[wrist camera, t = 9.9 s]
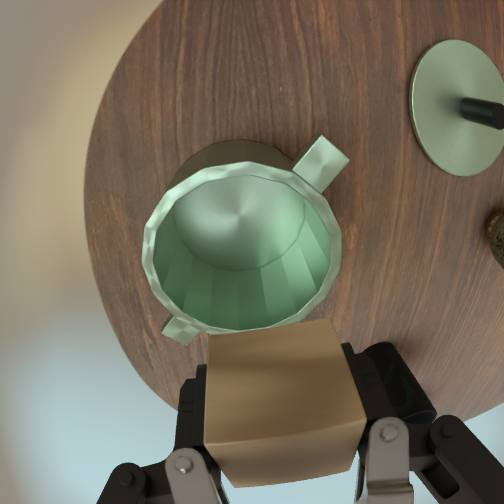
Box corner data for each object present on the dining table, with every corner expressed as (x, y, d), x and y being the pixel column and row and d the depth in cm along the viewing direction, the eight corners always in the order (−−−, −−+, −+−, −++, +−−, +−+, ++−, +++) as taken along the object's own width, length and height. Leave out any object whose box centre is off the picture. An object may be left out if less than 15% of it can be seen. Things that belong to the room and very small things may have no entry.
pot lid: (377, 102, 22) (411, 108, 17) (451, 15, 17) (489, 9, 12) (456, 199, 27) (489, 221, 22) (516, 115, 22) (551, 126, 17)
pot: (128, 250, 28) (99, 307, 20) (243, 82, 21) (249, 76, 14) (237, 312, 32) (239, 376, 25) (359, 176, 26) (405, 213, 18)
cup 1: (365, 381, 40) (390, 449, 30) (339, 361, 37) (365, 439, 27) (409, 351, 38) (443, 418, 27) (388, 327, 35) (428, 403, 24)
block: (230, 401, 13) (233, 488, 9) (208, 334, 11) (202, 445, 7) (327, 386, 13) (350, 471, 9) (330, 315, 11) (368, 419, 7)
